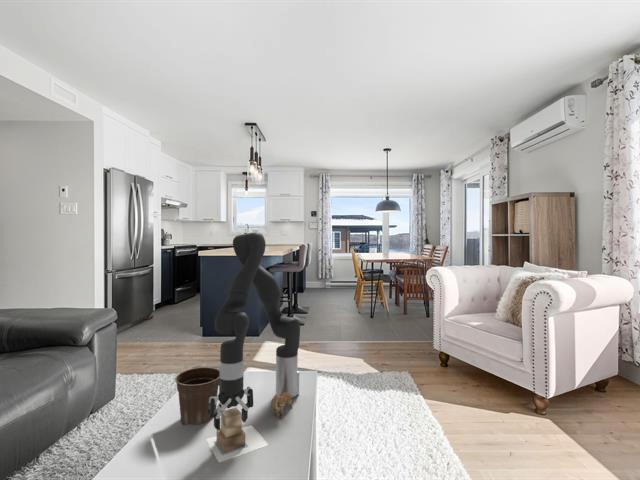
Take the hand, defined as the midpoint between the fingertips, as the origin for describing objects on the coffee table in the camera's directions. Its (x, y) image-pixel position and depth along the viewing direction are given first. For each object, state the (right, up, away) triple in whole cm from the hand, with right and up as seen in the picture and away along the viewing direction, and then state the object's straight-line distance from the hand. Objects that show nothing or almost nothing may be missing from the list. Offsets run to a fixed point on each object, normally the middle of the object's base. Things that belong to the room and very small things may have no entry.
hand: (231, 425), depth 110 cm
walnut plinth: (0, -6, 0) cm, 6 cm away
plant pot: (-17, -7, +17) cm, 25 cm away
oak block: (0, -2, 0) cm, 2 cm away
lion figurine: (+14, -7, +22) cm, 27 cm away
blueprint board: (+2, -7, +1) cm, 7 cm away
